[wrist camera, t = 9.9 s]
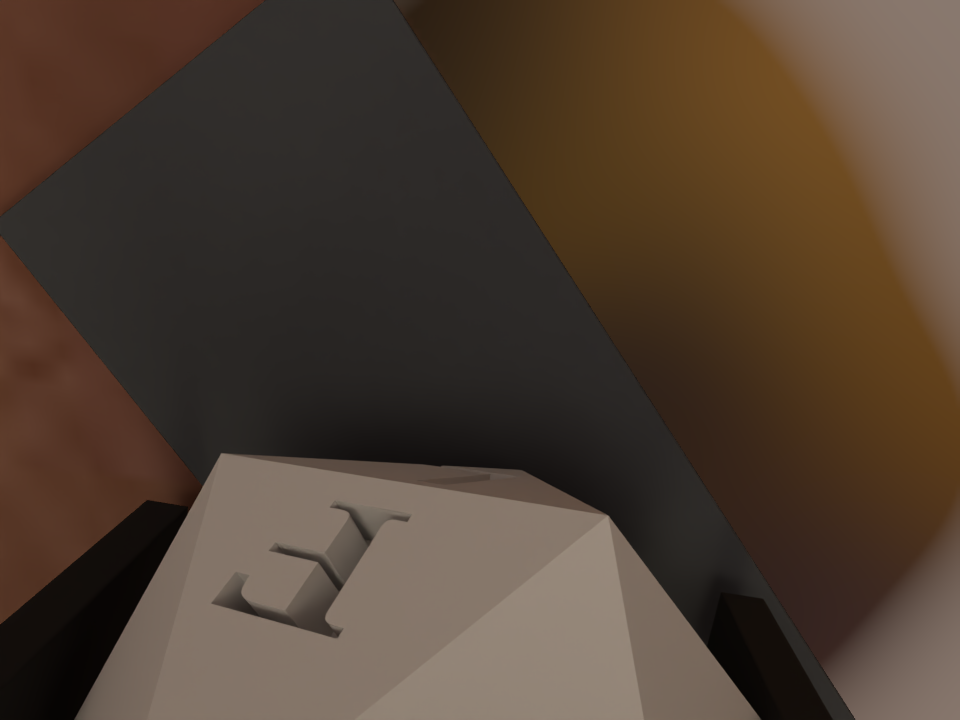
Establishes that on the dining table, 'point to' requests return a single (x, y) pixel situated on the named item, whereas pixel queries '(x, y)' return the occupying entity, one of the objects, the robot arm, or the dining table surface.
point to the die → (403, 606)
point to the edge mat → (360, 290)
